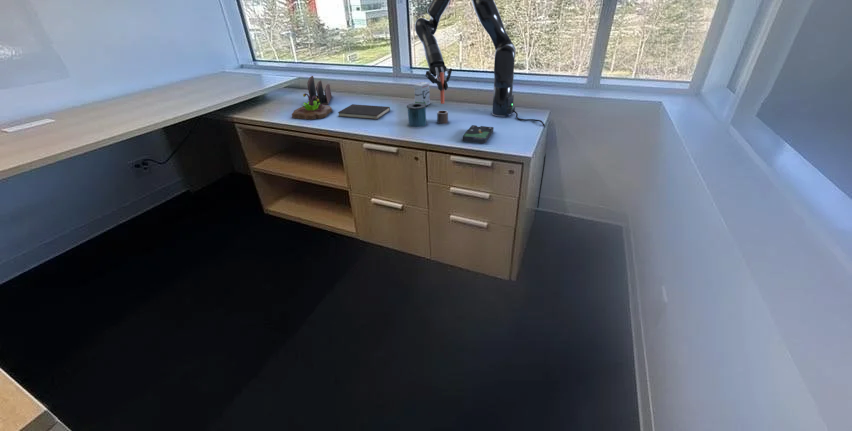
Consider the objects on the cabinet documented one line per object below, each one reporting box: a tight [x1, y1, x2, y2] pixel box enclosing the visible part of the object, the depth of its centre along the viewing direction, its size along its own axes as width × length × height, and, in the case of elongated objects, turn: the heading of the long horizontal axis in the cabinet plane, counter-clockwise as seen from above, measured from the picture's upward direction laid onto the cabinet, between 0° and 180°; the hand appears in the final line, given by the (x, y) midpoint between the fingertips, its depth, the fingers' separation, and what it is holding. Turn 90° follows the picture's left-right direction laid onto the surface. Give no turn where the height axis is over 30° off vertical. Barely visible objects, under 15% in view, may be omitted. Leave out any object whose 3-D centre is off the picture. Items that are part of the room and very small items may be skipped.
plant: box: [291, 93, 333, 121], centre depth 203 cm, size 20×20×11 cm
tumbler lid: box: [406, 102, 427, 109], centre depth 179 cm, size 9×9×1 cm
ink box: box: [413, 81, 431, 106], centre depth 209 cm, size 9×5×12 cm, turn 147°
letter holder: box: [307, 75, 333, 106], centre depth 224 cm, size 10×20×14 cm, turn 6°
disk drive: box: [461, 124, 495, 144], centre depth 166 cm, size 10×3×15 cm
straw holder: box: [436, 110, 449, 125], centre depth 183 cm, size 5×5×6 cm
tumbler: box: [407, 105, 427, 128], centre depth 182 cm, size 9×9×9 cm
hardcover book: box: [337, 103, 391, 121], centre depth 203 cm, size 16×23×2 cm
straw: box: [439, 72, 445, 105], centre depth 176 cm, size 2×2×14 cm
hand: (443, 89), depth 174 cm, fingers closed on straw, 2 cm apart
